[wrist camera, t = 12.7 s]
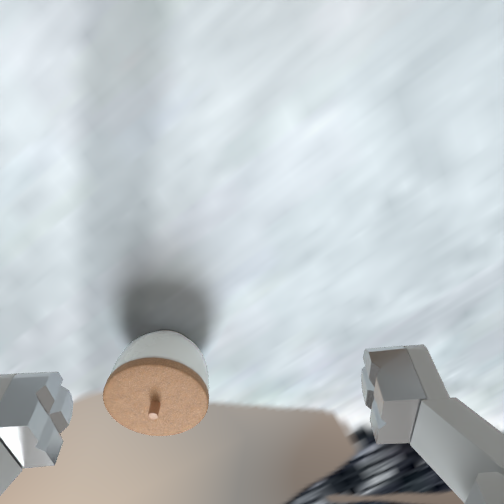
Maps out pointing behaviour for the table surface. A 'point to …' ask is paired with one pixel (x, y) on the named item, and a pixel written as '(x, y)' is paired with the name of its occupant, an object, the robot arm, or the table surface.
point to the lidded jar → (158, 385)
